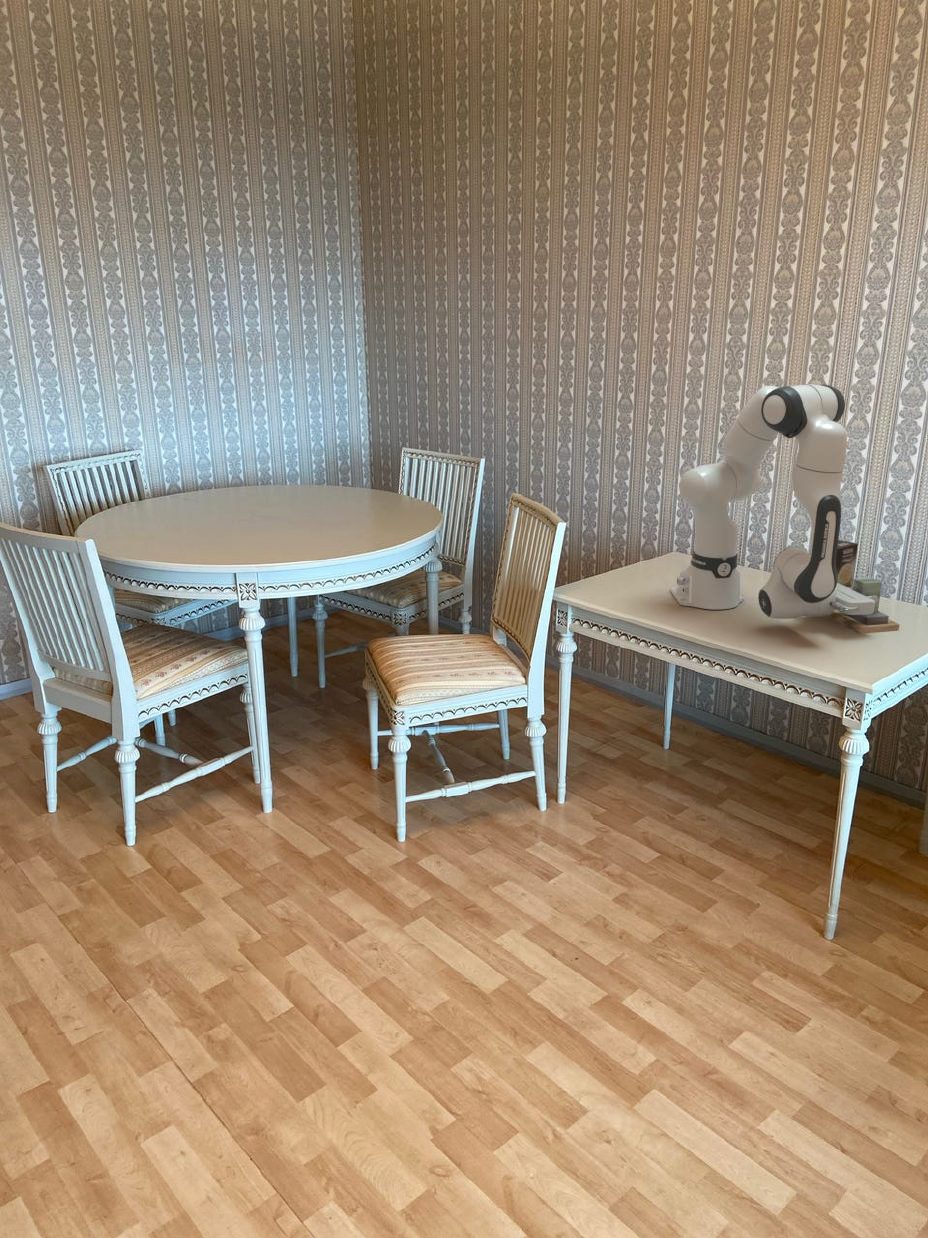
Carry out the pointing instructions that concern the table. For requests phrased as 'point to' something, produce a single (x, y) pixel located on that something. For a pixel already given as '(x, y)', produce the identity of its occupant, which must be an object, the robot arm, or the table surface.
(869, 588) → the block
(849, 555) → the coffee box
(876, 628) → the pine board
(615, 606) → the table surface
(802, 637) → the table surface
